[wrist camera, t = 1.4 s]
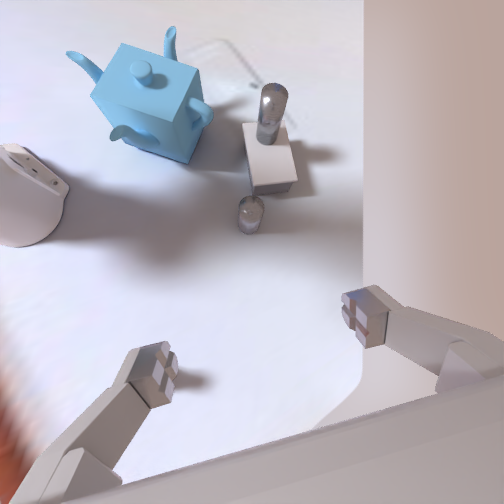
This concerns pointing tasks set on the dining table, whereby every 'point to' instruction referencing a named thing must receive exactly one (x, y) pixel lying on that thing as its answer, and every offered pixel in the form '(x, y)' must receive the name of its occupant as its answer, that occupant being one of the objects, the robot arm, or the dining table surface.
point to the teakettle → (150, 99)
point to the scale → (269, 161)
